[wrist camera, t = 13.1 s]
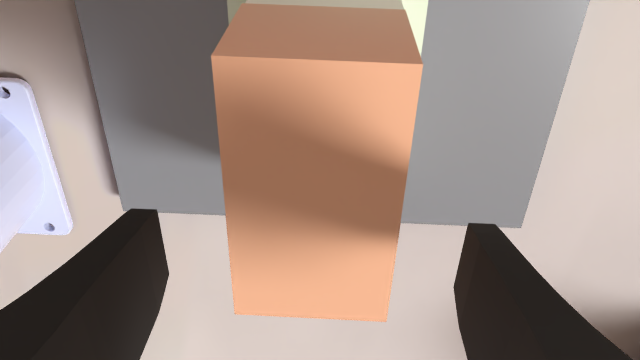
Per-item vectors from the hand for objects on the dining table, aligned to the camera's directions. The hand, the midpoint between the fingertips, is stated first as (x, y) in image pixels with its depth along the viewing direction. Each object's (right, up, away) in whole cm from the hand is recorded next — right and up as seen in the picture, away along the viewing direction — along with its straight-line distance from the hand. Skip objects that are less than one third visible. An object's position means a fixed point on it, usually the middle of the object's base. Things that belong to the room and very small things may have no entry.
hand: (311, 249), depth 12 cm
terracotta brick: (0, +3, +4) cm, 5 cm away
